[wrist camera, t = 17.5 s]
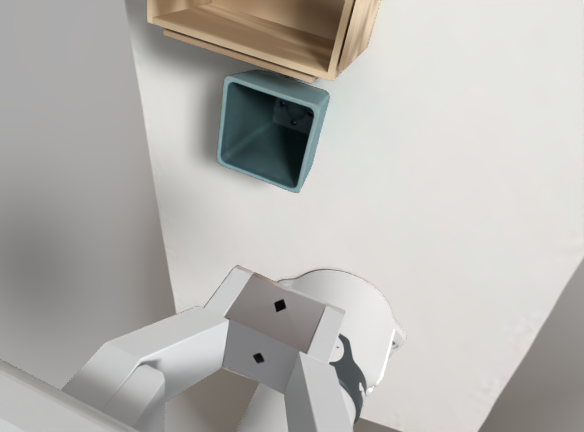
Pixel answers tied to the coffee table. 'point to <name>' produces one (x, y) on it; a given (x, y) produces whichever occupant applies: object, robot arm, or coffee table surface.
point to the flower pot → (270, 127)
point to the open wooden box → (273, 31)
